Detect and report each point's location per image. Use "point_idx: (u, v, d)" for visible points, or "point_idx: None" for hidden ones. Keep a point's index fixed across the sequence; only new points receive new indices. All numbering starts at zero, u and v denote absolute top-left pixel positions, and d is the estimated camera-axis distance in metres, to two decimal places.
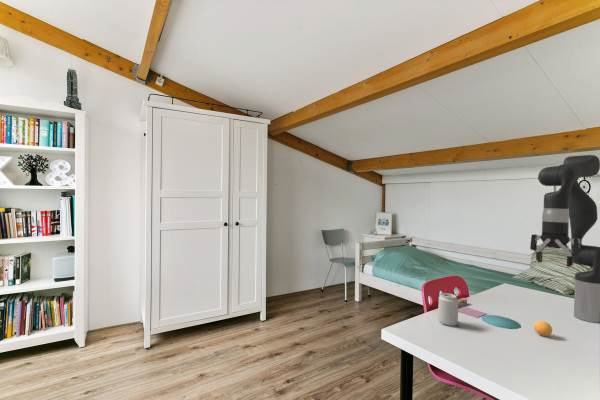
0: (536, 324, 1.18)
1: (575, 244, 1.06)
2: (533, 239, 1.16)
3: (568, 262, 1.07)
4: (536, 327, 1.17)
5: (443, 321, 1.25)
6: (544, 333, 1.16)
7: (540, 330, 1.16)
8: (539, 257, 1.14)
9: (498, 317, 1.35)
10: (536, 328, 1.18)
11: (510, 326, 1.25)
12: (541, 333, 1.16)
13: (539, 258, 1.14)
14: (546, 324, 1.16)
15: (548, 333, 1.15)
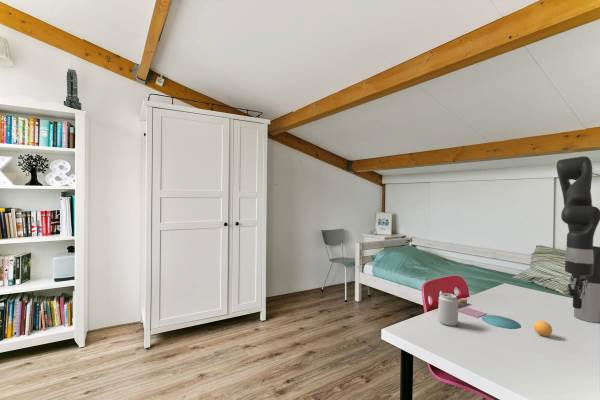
0: (536, 324, 1.18)
1: (586, 286, 1.11)
2: (578, 289, 1.06)
3: None
4: (536, 327, 1.17)
5: (443, 321, 1.25)
6: (544, 333, 1.16)
7: (540, 330, 1.16)
8: None
9: (498, 317, 1.35)
10: (536, 328, 1.18)
11: (510, 326, 1.25)
12: (541, 333, 1.16)
13: None
14: (546, 324, 1.16)
15: (548, 333, 1.15)
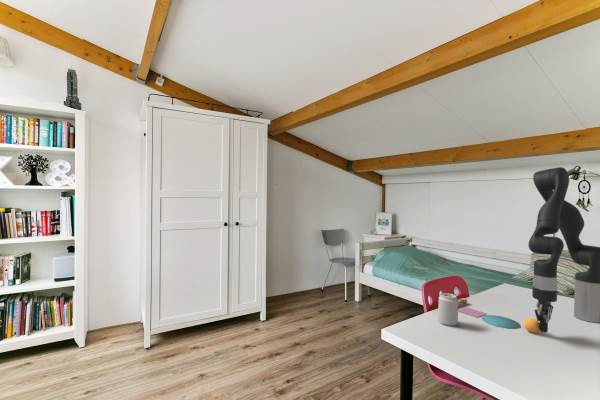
0: (524, 325, 1.21)
1: (551, 310, 1.19)
2: (543, 314, 1.14)
3: None
4: (526, 327, 1.20)
5: (443, 321, 1.25)
6: (534, 327, 1.18)
7: (530, 328, 1.19)
8: None
9: (498, 317, 1.35)
10: (527, 329, 1.20)
11: (510, 326, 1.25)
12: (533, 329, 1.18)
13: None
14: (528, 319, 1.21)
15: (536, 325, 1.18)
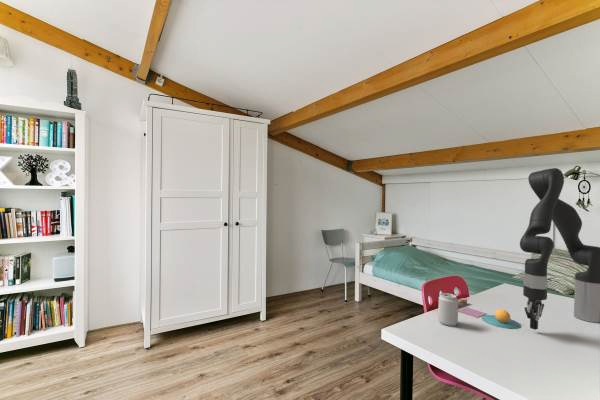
0: (503, 313, 1.28)
1: (542, 308, 1.22)
2: (533, 312, 1.17)
3: None
4: (500, 314, 1.28)
5: (443, 321, 1.25)
6: (496, 317, 1.30)
7: (497, 315, 1.29)
8: None
9: None
10: (499, 313, 1.29)
11: (510, 326, 1.25)
12: (496, 315, 1.30)
13: None
14: (506, 321, 1.27)
15: None
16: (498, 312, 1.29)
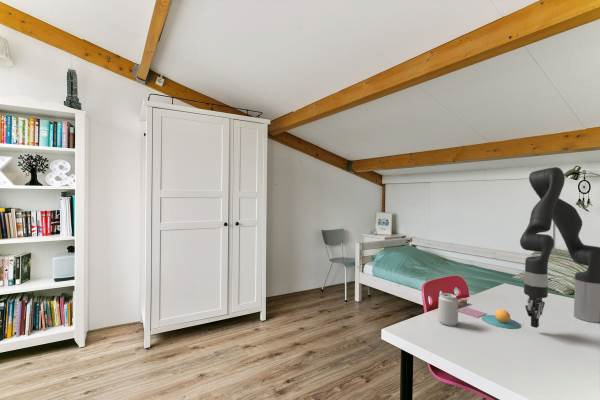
0: (503, 313, 1.28)
1: (543, 306, 1.22)
2: (534, 310, 1.17)
3: None
4: (500, 314, 1.28)
5: (443, 321, 1.25)
6: (496, 317, 1.30)
7: (497, 315, 1.29)
8: None
9: None
10: (499, 313, 1.29)
11: (510, 326, 1.25)
12: (496, 315, 1.30)
13: None
14: (506, 321, 1.27)
15: None
16: (498, 312, 1.29)
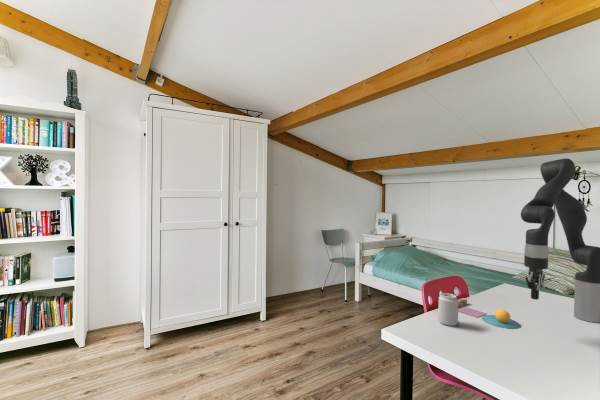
0: (503, 313, 1.28)
1: (543, 278, 1.22)
2: (534, 281, 1.17)
3: None
4: (500, 314, 1.28)
5: (443, 321, 1.25)
6: (496, 317, 1.30)
7: (497, 315, 1.29)
8: None
9: None
10: (499, 313, 1.29)
11: (510, 326, 1.25)
12: (496, 315, 1.30)
13: None
14: (506, 321, 1.27)
15: None
16: (498, 312, 1.29)
